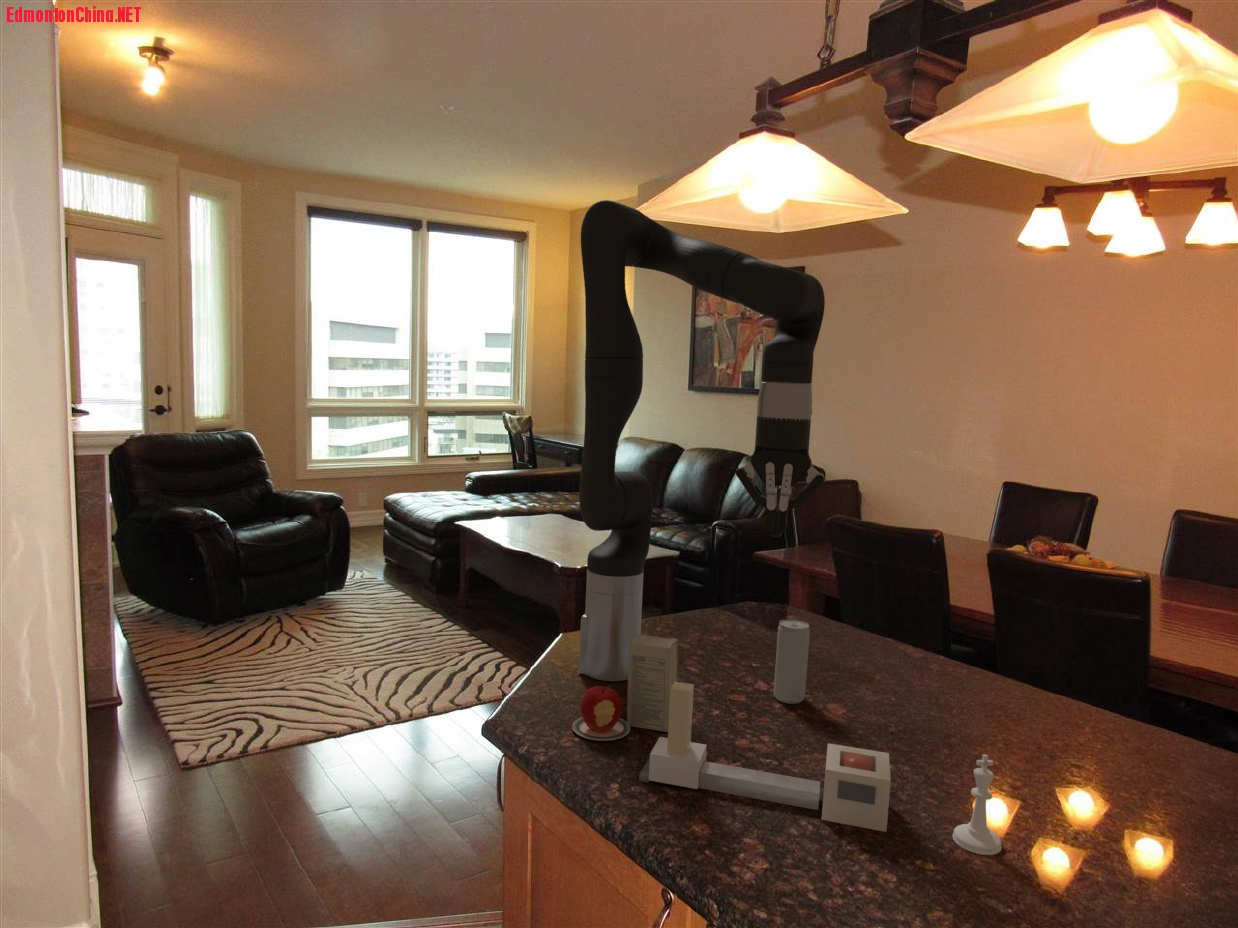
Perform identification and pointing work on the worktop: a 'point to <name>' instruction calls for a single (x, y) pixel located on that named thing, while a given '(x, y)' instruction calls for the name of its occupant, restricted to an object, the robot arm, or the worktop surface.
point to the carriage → (678, 744)
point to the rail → (754, 784)
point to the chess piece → (979, 816)
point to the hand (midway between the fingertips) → (775, 535)
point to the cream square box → (856, 789)
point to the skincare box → (650, 681)
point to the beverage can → (791, 661)
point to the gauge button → (857, 762)
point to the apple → (601, 715)
